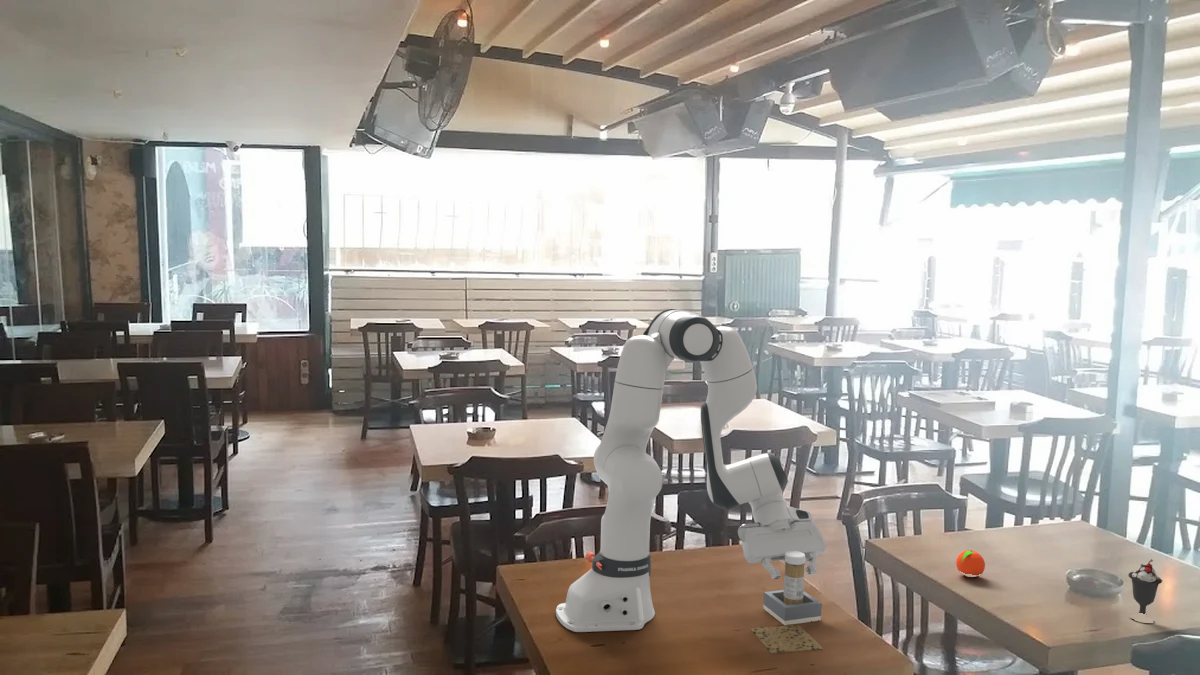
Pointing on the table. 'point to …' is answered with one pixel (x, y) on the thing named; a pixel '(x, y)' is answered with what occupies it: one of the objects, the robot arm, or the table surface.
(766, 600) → the block
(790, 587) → the sprinkles bottle
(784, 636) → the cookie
